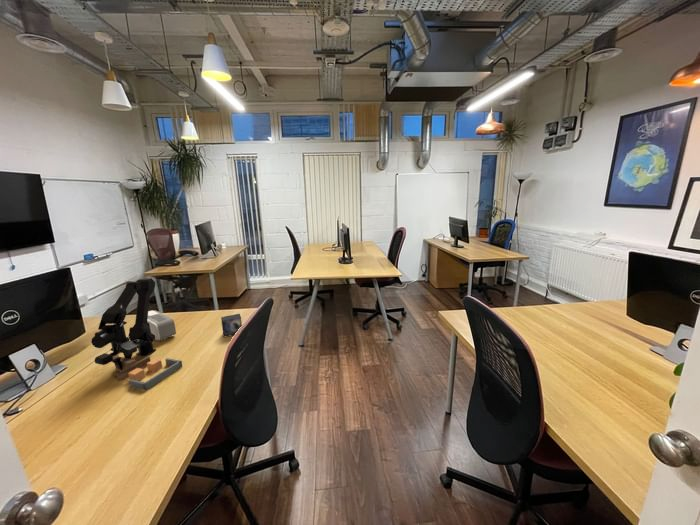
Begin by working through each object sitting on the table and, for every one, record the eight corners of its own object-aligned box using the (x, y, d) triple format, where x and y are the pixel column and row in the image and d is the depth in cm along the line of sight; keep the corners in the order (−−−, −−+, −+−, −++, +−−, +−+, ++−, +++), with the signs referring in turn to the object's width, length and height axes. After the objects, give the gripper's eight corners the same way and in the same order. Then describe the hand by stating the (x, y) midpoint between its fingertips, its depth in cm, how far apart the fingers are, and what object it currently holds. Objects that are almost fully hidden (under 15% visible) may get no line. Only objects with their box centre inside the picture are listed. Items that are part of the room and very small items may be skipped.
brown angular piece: (103, 376, 129) (100, 366, 127) (134, 360, 142) (132, 351, 140) (120, 380, 125) (118, 370, 124) (150, 363, 138) (148, 354, 137)
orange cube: (148, 370, 132) (146, 363, 131) (156, 366, 136) (154, 358, 135) (154, 372, 131) (152, 364, 130) (162, 367, 135) (161, 359, 134)
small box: (223, 337, 162) (221, 320, 160) (222, 333, 168) (220, 316, 165) (243, 333, 167) (241, 316, 164) (241, 329, 172) (239, 313, 170)
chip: (129, 381, 125) (128, 373, 124) (138, 375, 129) (137, 367, 128) (136, 382, 124) (134, 374, 123) (145, 377, 127) (143, 369, 126)
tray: (130, 386, 121) (128, 380, 120) (168, 363, 137) (167, 358, 137) (145, 390, 118) (144, 384, 117) (182, 366, 135) (181, 360, 134)
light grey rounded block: (140, 331, 174) (136, 313, 171) (157, 325, 181) (154, 308, 178) (159, 343, 158) (155, 323, 155) (177, 336, 165) (173, 317, 162)
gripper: (107, 349, 119) (115, 382, 123) (150, 329, 136) (156, 359, 140) (90, 346, 122) (98, 377, 126) (133, 327, 140) (139, 355, 143)
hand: (124, 367), depth 134 cm, fingers closed on brown angular piece, 3 cm apart
